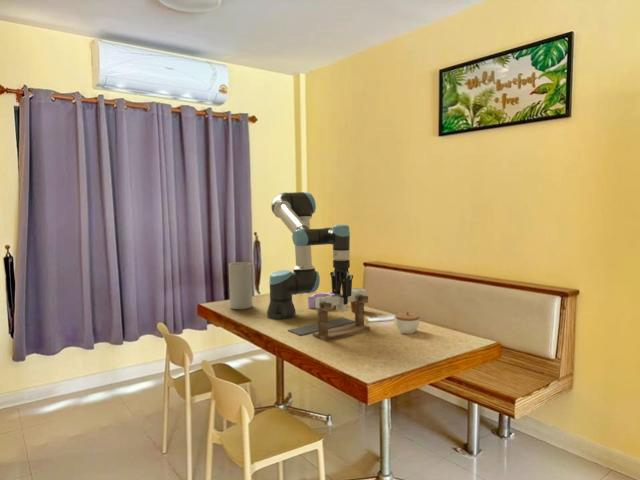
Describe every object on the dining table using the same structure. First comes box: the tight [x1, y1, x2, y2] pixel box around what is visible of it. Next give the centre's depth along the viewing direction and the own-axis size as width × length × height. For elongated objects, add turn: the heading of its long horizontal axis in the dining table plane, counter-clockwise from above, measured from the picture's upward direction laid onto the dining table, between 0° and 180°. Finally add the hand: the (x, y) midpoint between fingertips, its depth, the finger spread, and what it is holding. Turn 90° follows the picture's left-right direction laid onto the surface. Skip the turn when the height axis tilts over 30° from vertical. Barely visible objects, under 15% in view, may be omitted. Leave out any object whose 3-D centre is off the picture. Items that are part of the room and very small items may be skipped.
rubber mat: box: [287, 316, 355, 336], centre depth 219 cm, size 10×34×1 cm, turn 128°
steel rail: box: [315, 289, 367, 309], centre depth 207 cm, size 3×28×4 cm, turn 128°
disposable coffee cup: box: [350, 287, 366, 314], centre depth 246 cm, size 10×10×12 cm
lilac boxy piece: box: [307, 291, 336, 312], centre depth 259 cm, size 20×12×7 cm, turn 129°
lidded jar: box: [395, 311, 420, 335], centre depth 209 cm, size 11×11×9 cm
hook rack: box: [312, 295, 371, 342], centre depth 208 cm, size 10×26×16 cm, turn 128°
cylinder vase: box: [228, 261, 253, 310], centre depth 259 cm, size 12×12×25 cm
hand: (341, 310), depth 207 cm, fingers closed on steel rail, 3 cm apart
